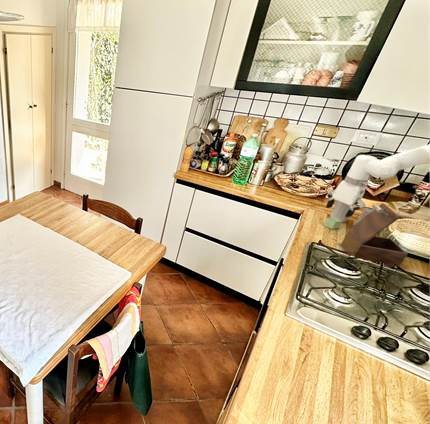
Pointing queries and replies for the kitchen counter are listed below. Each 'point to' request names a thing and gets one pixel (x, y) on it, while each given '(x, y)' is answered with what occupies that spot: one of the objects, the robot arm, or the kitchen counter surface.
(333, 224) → the block
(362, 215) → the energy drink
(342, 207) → the water bottle
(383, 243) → the keepsake box
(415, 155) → the robot arm
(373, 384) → the kitchen counter surface
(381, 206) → the box lid
